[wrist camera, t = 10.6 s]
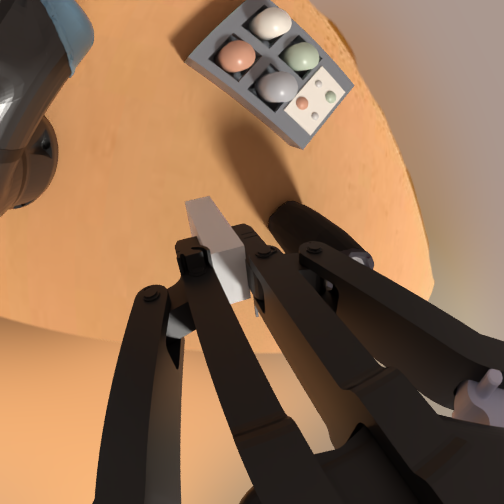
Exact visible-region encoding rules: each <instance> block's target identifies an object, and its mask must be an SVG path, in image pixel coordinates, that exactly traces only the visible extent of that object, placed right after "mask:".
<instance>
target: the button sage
mask: <svg viewBox="0 0 504 504" xmlns="http://www.w3.org/2000/svg"><path fill="white" fill-rule="evenodd" d="M279 58H280V59H281V60H282V61H283V62H285V63H286V64H287V65H288V66H289V67H290V68H291V69H292V70H293V71H294V72H296V71H302V70H309V69H313V68H315V67H316V66H317V64H318V62H319V53H318V51H317V49H316V48H315V47H314V46H313V45H311V44H310V43H307V42H301V43H298V44H295V45H292V46H289V47H286V48H285V49H284V50H283V51H282V52H281V53H280V54H279Z"/></svg>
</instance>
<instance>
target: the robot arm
mask: <svg viewBox="0 0 504 504" xmlns="http://www.w3.org/2000/svg"><path fill="white" fill-rule="evenodd" d="M93 41H94V29H93V26H92V24H91V22H90V20H89V18H88V17H87V15H86V14H85V12H84V11H83V10H82V8H81V7H80V6H79V5H78V4H77V2H76V1H75V0H0V217H1V216H2V215H3V214H4V213H5V212H6V211H7V210H8V209H16V208H21V207H24V206H27V205H29V204H31V203H32V202H34V201H35V200H36V199H37V198H38V197H39V196H40V195H41V194H42V193H43V192H44V191H45V190H46V189H47V188H48V186H49V185H50V183H51V181H52V179H53V177H54V174H55V171H56V167H57V162H58V143H57V138H56V134H55V132H54V129H53V127H52V125H51V124H50V122H49V121H48V120H47V119H46V118H45V117H44V114H45V112H46V111H47V109H48V108H49V106H50V104H51V103H52V101H53V100H54V98H55V97H56V95H57V94H58V92H59V91H60V89H61V88H62V86H63V85H64V83H65V82H66V81H67V79H68V78H71V77H72V76H73V74H74V72H75V68H76V67H77V66H78V64H79V63H80V62H81V60H82V59H83V58H84V56H85V55H86V54H87V52H88V51H89V50H90V48H91V46H92V44H93ZM185 205H186V210H187V215H188V220H189V225H190V229H191V234H192V237H190V238H187V239H183V240H179V241H177V243H176V245H175V250H176V254H177V262H178V265H179V269H180V273H181V277H180V280H179V281H178V282H177V283H176V284H175V285H173V286H172V287H170V288H168V289H166V288H165V287H164V286H162V285H151V286H147V287H145V288H143V289H142V290H141V291H139V292H138V294H137V295H136V297H135V300H134V303H133V307H132V310H131V313H130V316H129V320H128V323H127V327H126V330H125V334H124V337H123V341H122V345H121V349H120V353H119V356H118V361H117V364H116V369H115V373H114V377H113V381H112V386H111V391H110V395H109V400H108V405H107V410H106V416H105V421H104V427H103V433H102V439H101V446H100V452H99V461H98V469H97V478H96V489H95V499H94V501H93V503H92V504H181V481H180V428H181V424H180V423H181V396H182V375H183V357H184V344H185V339H184V336H185V335H187V334H189V333H191V332H192V331H194V330H197V334H198V337H199V340H200V344H201V347H202V350H203V353H204V356H205V359H206V363H207V366H208V368H209V372H210V374H211V378H212V380H213V383H214V386H215V389H216V392H217V395H218V398H219V401H220V403H221V406H222V409H223V412H224V414H225V417H226V420H227V422H228V425H229V427H230V430H231V433H232V435H233V439H234V441H235V444H236V446H237V449H238V452H239V454H240V456H241V459H242V461H243V463H244V466H245V468H246V470H247V473H248V475H249V477H250V480H251V482H252V484H253V487H252V488H251V489H250V490H249V491H248V492H247V493H246V494H245V496H244V497H243V498H242V499H241V501H240V503H239V504H504V341H501V340H497V339H494V338H491V337H488V336H485V335H481V334H479V333H478V332H476V331H475V330H473V329H471V328H470V327H468V326H467V325H465V324H463V323H462V322H460V321H459V320H457V319H455V318H453V317H452V316H451V315H449V314H447V313H446V312H444V311H442V310H441V309H439V308H437V307H436V306H434V305H432V304H431V303H429V302H428V301H426V300H424V299H423V298H421V297H419V296H418V295H416V294H414V293H412V292H411V291H409V290H407V289H406V288H404V287H402V286H400V285H399V284H397V283H395V282H394V281H392V280H390V279H388V278H387V277H385V276H383V275H381V274H379V273H378V272H376V271H374V270H372V269H371V268H369V267H367V266H365V265H363V264H362V263H360V262H358V261H356V260H354V259H352V258H351V257H349V256H347V255H345V254H343V253H341V252H340V251H338V250H336V249H334V248H332V247H330V246H328V245H327V244H324V243H322V242H317V241H309V242H306V243H303V244H302V245H300V247H299V253H290V254H283V253H282V252H281V251H280V250H279V249H278V248H276V247H274V246H271V245H266V244H265V242H264V241H263V240H262V239H261V238H260V237H259V235H258V234H257V233H256V232H255V231H254V230H253V228H252V227H251V226H248V225H246V224H240V225H236V226H230V225H229V223H228V222H227V220H226V219H225V218H224V216H223V215H222V213H221V212H220V210H219V209H218V208H217V206H216V205H215V203H214V202H213V201H212V199H211V198H210V196H207V197H203V198H199V199H194V200H190V201H186V202H185ZM327 281H329V282H330V283H332V284H333V287H332V288H330V287H328V286H327ZM250 290H251V292H252V294H253V298H254V306H255V314H256V317H259V316H258V312H259V313H260V315H261V317H262V318H263V320H264V322H265V324H266V325H267V327H268V329H269V331H270V332H271V334H272V336H273V337H274V339H275V341H276V343H277V344H278V346H279V348H280V349H281V351H282V353H283V355H284V356H285V358H286V360H287V361H288V363H289V365H290V366H291V368H292V370H293V371H294V373H295V374H296V376H297V378H298V380H299V381H300V383H301V385H302V386H303V388H304V390H305V391H306V393H307V395H308V396H309V398H310V399H311V401H312V403H313V404H314V406H315V408H316V410H317V411H318V413H319V414H320V416H321V418H322V419H323V421H324V423H325V424H326V426H327V428H328V431H329V435H330V440H331V442H332V444H333V446H334V448H335V450H331V451H327V452H323V453H318V454H313V452H312V450H311V449H310V447H309V445H308V443H307V442H306V440H305V438H304V437H303V435H302V433H301V431H300V429H299V428H298V426H297V424H296V423H295V421H294V420H293V419H292V418H291V417H289V416H287V415H286V414H285V412H284V410H283V409H282V407H281V405H280V403H279V401H278V399H277V397H276V395H275V393H274V392H273V390H272V388H271V386H270V384H269V382H268V380H267V378H266V376H265V374H264V372H263V370H262V368H261V366H260V364H259V362H258V360H257V358H256V356H255V354H254V352H253V350H252V348H251V346H250V344H249V342H248V340H247V338H246V336H245V334H244V332H243V330H242V328H241V326H240V324H239V321H238V319H237V317H236V315H235V313H234V311H233V309H232V307H231V305H230V304H232V303H236V302H239V301H242V300H246V299H249V298H251V296H250ZM374 358H375V359H376V360H377V361H379V362H380V363H381V364H383V365H384V366H385V367H386V368H384V367H382V366H380V365H379V364H378V363H377V361H376V360H375V359H374ZM417 390H418V391H419V392H421V393H422V394H423V395H424V396H426V397H427V398H429V399H431V400H432V401H434V402H436V403H438V404H440V405H442V406H444V407H446V408H449V409H452V410H454V411H453V413H452V418H451V417H446V416H442V415H438V414H437V413H436V412H435V411H434V410H433V408H432V407H431V406H430V405H429V404H428V403H427V401H426V400H425V399H424V398H423V396H422V395H421V394H420V393H419V392H418V391H417Z"/></svg>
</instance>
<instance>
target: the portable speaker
mask: <svg viewBox="0 0 504 504" xmlns="http://www.w3.org/2000/svg"><path fill="white" fill-rule="evenodd" d="M268 227H269V229H270V231H271V233H272V235H273V236H274V238H275V239H276V241H277V242H278V244H279V245H280V246H281V248H282V249H283V250H284V252H285V253H286V254H290V253H299V247H300V245H302V244H303V243H306V242H309V241H317V242H322V243H324V244H327V245H328V246H330V247H332V248H334V249H336V250H338V251H340V252H341V253H343V254H345V255H347V256H349V257H351V258H352V259H354V260H356V261H358V262H360V263H362V264H363V265H365V266H367V267H369V268H371V269H372V270H373V267H374V262H373V259H372V256H371V255H370V254H369V253H368V252H366V251H365V250H364V249H363V248H362V247H361V246H360V245H359V244H358V243H357V242H356V241H355V240H354V239H353V238H352V237H351V236H349V235H348V234H347V233H346V232H345V231H344V230H342V229H341V228H339V227H338V226H337V225H335V224H334V223H332V222H331V221H330V220H328V219H327V218H325V217H324V216H322V215H321V214H319V213H318V212H316V211H315V210H313V209H311V208H309V207H307V206H305V205H302V204H299V203H297V202H295V201H287V202H286V204H284V205H282V206H281V207H279V208H278V210H277V211H276V212H275V213H274V214H273V215H272V216H271V217H270V218H269V226H268ZM327 286H328V287H330V288H332V287H333V284H332V283H330V282H329V281H327Z"/></svg>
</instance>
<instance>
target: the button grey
mask: <svg viewBox="0 0 504 504" xmlns="http://www.w3.org/2000/svg"><path fill="white" fill-rule="evenodd" d="M255 91H256V94H257V96H258V97H259V98H260V99H261V100H263V101H265V102H288V101H291V100H292V99H293V98H294V97H295V96H296V94H297V91H298V84H297V81H296V79H295V78H294V77H293V76H292V75H291V74H290V73H288V72H284V71H280V72H275V73H270V74H266V75H263V76H261V77H260V78H259V79H258V80H257V82H256V84H255Z"/></svg>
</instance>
